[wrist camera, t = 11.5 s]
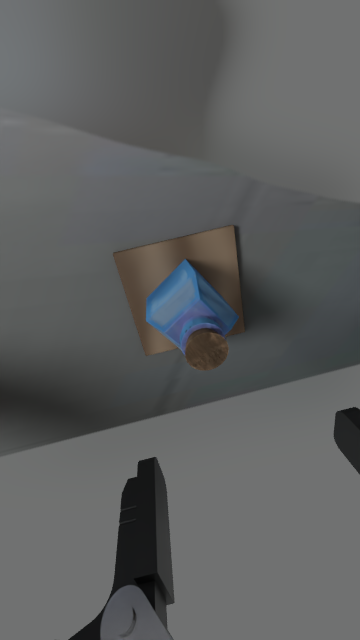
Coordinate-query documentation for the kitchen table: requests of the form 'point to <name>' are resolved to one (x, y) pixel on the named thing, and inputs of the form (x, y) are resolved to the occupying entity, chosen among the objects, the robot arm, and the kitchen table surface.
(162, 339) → the walnut board
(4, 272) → the kitchen table surface
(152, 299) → the perfume bottle
